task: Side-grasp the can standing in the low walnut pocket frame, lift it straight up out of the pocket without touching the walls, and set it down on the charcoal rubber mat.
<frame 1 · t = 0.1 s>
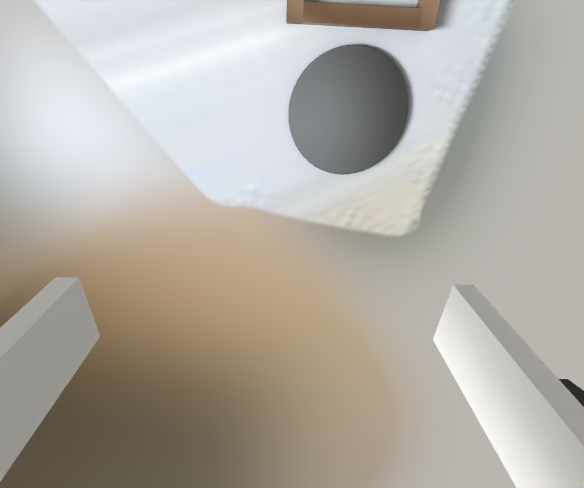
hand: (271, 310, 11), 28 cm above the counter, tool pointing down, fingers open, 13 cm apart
mat: (347, 114, 34), on the counter
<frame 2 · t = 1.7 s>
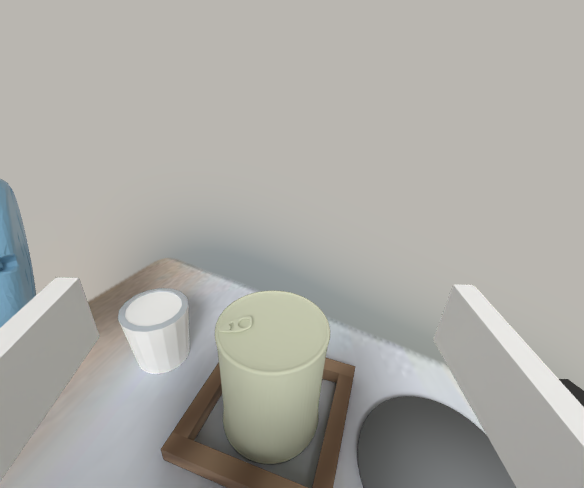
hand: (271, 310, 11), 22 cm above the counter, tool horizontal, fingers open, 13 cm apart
can: (271, 413, 30), resting in pocket
pocket: (271, 412, 30), on the counter
mat: (434, 470, 26), on the counter
shot glass: (164, 354, 36), on the counter
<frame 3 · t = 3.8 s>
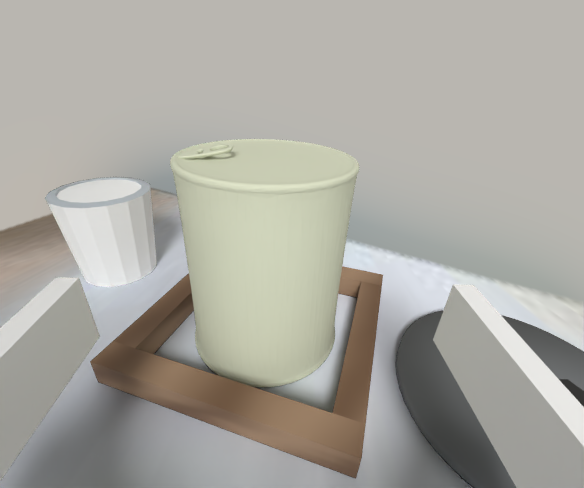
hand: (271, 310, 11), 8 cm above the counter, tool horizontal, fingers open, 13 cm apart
can: (266, 330, 21), resting in pocket
pocket: (266, 327, 21), on the counter
mat: (516, 395, 17), on the counter
shot glass: (122, 269, 27), on the counter
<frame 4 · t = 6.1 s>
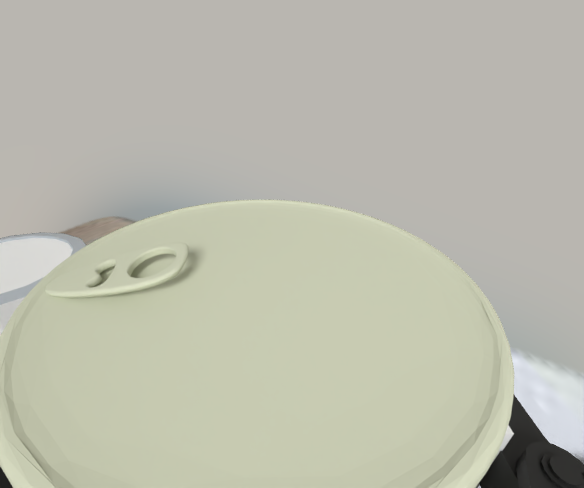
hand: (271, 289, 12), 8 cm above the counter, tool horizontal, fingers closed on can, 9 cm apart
shot glass: (53, 368, 18), on the counter
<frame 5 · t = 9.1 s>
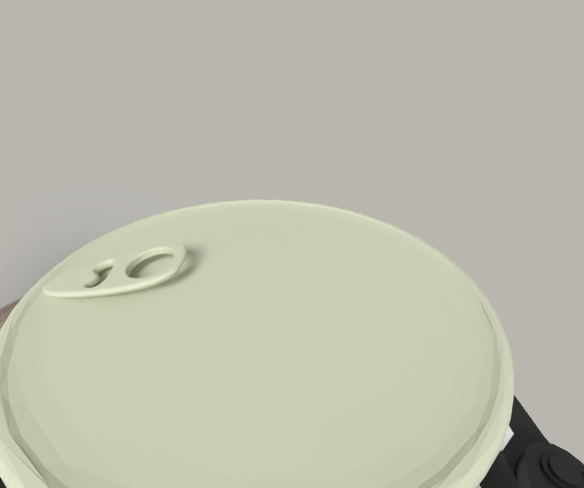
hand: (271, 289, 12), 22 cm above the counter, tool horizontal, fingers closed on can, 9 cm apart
when the fingers open (9 cm above the counter, at t = 12.0 s): can drops 1 cm, resting on mat.
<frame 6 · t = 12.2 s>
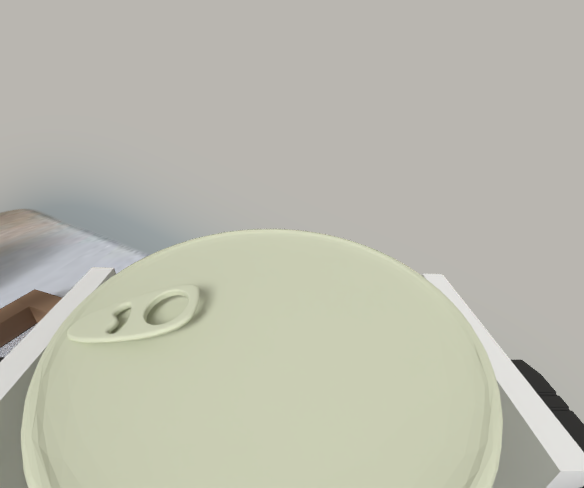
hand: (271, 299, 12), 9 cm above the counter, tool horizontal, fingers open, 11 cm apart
pocket: (10, 415, 17), on the counter
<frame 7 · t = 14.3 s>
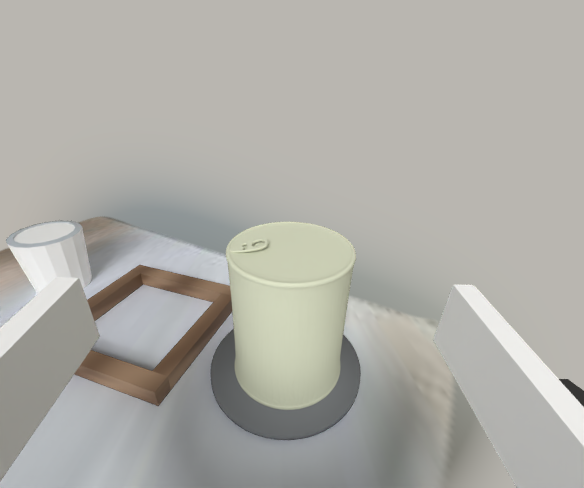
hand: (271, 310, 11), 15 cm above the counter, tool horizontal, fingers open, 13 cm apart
can: (287, 363, 27), resting on mat
pocket: (148, 324, 32), on the counter
mat: (285, 365, 28), on the counter
shot glass: (65, 285, 38), on the counter
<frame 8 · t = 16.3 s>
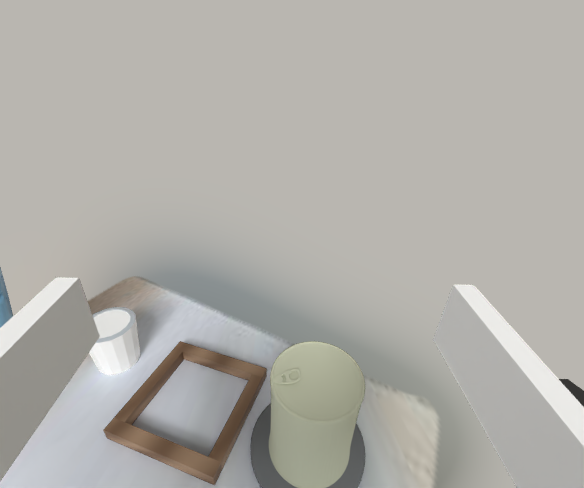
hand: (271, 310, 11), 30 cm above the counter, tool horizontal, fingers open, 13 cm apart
can: (308, 444, 36), resting on mat
pocket: (194, 403, 40), on the counter
mat: (307, 445, 36), on the counter
shot glass: (119, 359, 45), on the counter
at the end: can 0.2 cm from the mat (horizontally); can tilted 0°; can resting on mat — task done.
